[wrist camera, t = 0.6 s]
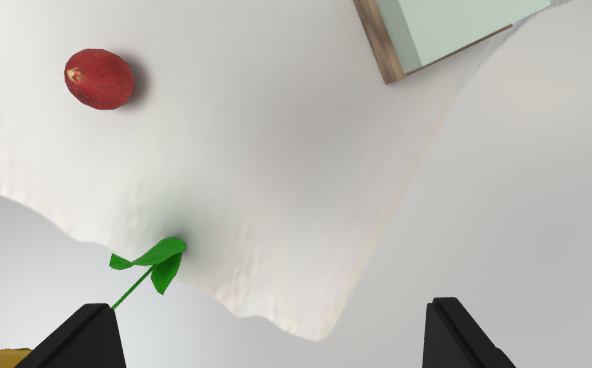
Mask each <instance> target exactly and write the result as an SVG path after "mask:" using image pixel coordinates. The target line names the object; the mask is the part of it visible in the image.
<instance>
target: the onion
mask: <svg viewBox="0 0 592 368" xmlns="http://www.w3.org/2000/svg"><path fill="white" fill-rule="evenodd" d="M64 75H65V82H66V85H67V87H68V89H69V91H70V92H71V93H72V94H73V95H74V96H75V97H76V98H77V99H78V100H79V101H80V102H82V103H83V104H85V105H88V106H90V107H93V108H95V109H99V110H113V109H116V108H118V107H120V106H122V105H123V104H125V103H127V101H128V100H129V99H130V97H131V96H132V93H133V89H134V77H133V74H132V72H131V70H130V68H129V66H128V64H127V63H126V62H125V61H124V60H122V59H121V58H120V57H119V56H117V55H115V54H113V53H111V52H108V51H106V50H104V49H85V50H82V51H80V52H78V53H76V54H74V55H73V56H72V57H71V58H70V59H69V61H68V62H67V63H66V67H65V71H64Z"/></svg>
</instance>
